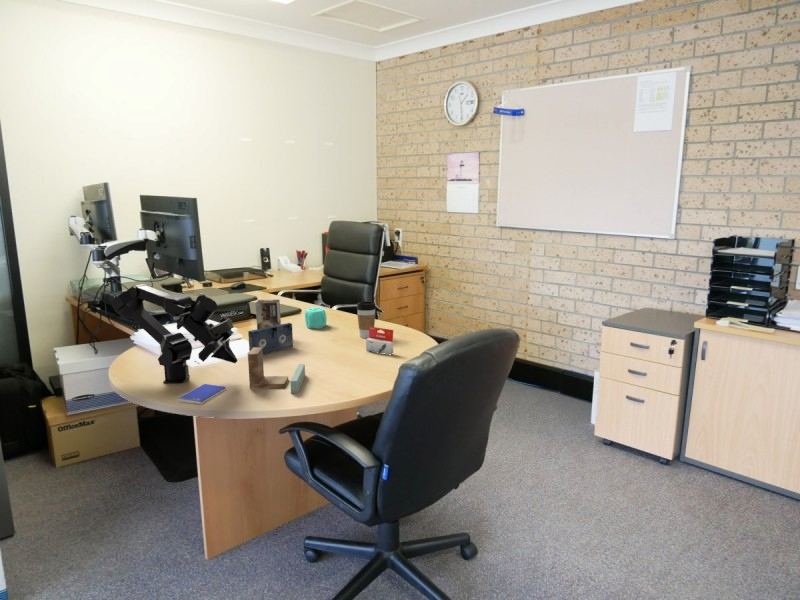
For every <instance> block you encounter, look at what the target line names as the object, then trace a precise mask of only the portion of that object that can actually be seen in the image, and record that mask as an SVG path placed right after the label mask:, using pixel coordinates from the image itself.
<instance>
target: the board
mask: <svg viewBox="0 0 800 600" xmlns="http://www.w3.org/2000/svg"><path fill="white" fill-rule="evenodd" d="M305 365H306V364H305V363H304V364H303V363H299V364H298V365H297V367H296V368H295V371H294V373H293V375H292V377H291V379H290V381H289V382H290V393H291V394H298V393H299V391H300V388H301V386H302V384H303V381H304V379H305V377H306V366H305ZM301 383H302V384H301ZM297 392H298V393H297Z"/></svg>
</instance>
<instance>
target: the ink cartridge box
mask: <svg viewBox="0 0 800 600" xmlns="http://www.w3.org/2000/svg"><path fill="white" fill-rule="evenodd" d="M379 331H382V332H379ZM365 351H372V352H378V353H385V354H392V353H393V354H394V329H389V328H383V327H377V326H376V327H375V326H374V327H370V326H369V338H365ZM372 352H371V353H372ZM378 353H377V354H378Z"/></svg>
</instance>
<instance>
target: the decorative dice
mask: <svg viewBox="0 0 800 600" xmlns="http://www.w3.org/2000/svg"><path fill="white" fill-rule="evenodd" d="M304 320H305V325H306V328H308V329H314V330H315V329H321V328H325V326H326V325H327V313H326V310H325V309H324V308H322V307H310V308H307V309H306V310H305V312H304Z"/></svg>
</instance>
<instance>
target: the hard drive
mask: <svg viewBox="0 0 800 600" xmlns="http://www.w3.org/2000/svg"><path fill="white" fill-rule="evenodd" d="M225 390H226V386H222V385H217V384H208V383H203V384H202V385H200V386H197V387H196V388H194V389H193V390H191V391H189V392H186V393H185V394H183V395H182V396H179V397H177V401H178V402H182V403H188V404H189V403H191V404H196V403H197V404H198V405H203V404H204V403H205V401H206V402H207V401H209V400H211V399H212V398H214V397H215V395H216V396H217V395H219V394H220V392H221V393H223V392H224V391H225ZM210 398H211V399H210ZM203 402H204V403H203ZM197 404H196V405H197Z"/></svg>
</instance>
